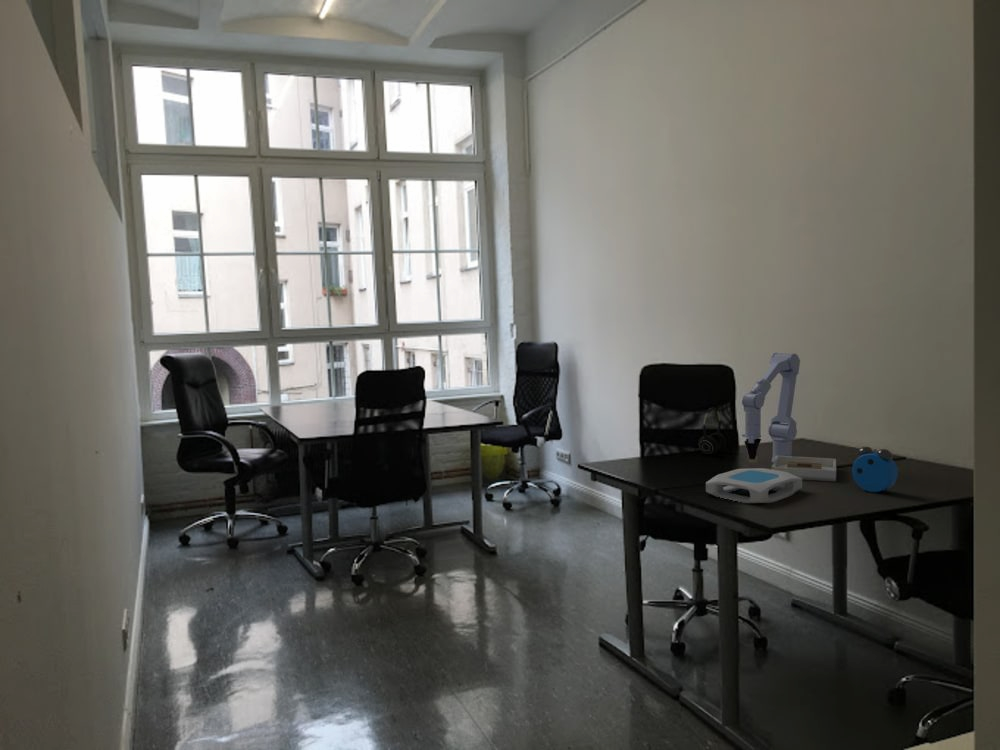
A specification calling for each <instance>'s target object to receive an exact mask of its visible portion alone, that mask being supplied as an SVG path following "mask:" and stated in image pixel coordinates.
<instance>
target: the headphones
mask: <svg viewBox="0 0 1000 750" xmlns="http://www.w3.org/2000/svg"><path fill="white" fill-rule="evenodd" d="M712 411H715V412H716V413H717V416H718V424H717V425H718V426H717V431H716V432H713V433H711V434H710V435H708V433H707V428H706V427H707V426H706V420H707V416H708V414H710V413H711V412H712ZM705 413H706V414H705V416H704V419H703V426H702V427H703V428H702V431H703V436H701V437H700V438H699V440H698V447H699V449H700V451H701V452H703V453H704V454H706V455H714V454H716V453H720V452H722V451H723V450H724V449H725V447H726V445H727V440H726V438H725V436H724V435H723V434H721V428H722V427H721V425H722V419H721V415H720V411H719V410H718V408H716V407H710V408H708V410H706V412H705Z"/></svg>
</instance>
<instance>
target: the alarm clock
mask: <svg viewBox="0 0 1000 750" xmlns="http://www.w3.org/2000/svg"><path fill="white" fill-rule="evenodd" d="M872 451H873V452H872ZM857 455H858V456H859V457H857V458H856V459H855V461H854V462H853V464H852V468H851V469H852V476H853V480H854V482H855V483H856V484H857V485H858V486H859V487H860V488H861V489H862V490H864V491H866V492H870V493H879V492H882V491H886V492H889V491H888V489H889V488H892V487H893V486H894V484H895V483H896V481H897V479H898V475H899V474H898V473H899V472H898V467H897V464H896V462H895V461H894V460H893V454H892V452H891V451H890V450H889V449H887V448H886V449H885V448H880V449H879V450H878V449H876V448H875V449H874V448H873V449H872V448H871V447H869V446H861V447H860V448H859V449H858V450H857Z"/></svg>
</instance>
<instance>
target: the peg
mask: <svg viewBox="0 0 1000 750" xmlns="http://www.w3.org/2000/svg"><path fill="white" fill-rule="evenodd" d="M758 450H759V447H758V448H757V452H756V458H755V459H749V455H748V454H747V463H750V464H757V463H759V461H758V460H759V459H758V458H759V457H758V455H759V452H758Z"/></svg>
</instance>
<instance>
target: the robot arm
mask: <svg viewBox="0 0 1000 750" xmlns="http://www.w3.org/2000/svg"><path fill="white" fill-rule="evenodd" d="M800 364H801V359H800V358H799V356H798V354H797V353H786V352H785V353H783V352H781V353H780V352H773V353H772V354H771V356H770V358H769V366H768V367H767V370H766V372H765V373H764V375H763V377H762V378H760V379H758V380H757V381H756V383H754V385H753V386H752V387H751V389H750V391H749V392H747V393H745V394H744V395H743V397H742V400H741V403H742V404H741V405H742V406H743V410H744V412H745V413H744V414H745V415H744V416H745V417H744V419H745V420H744V422H745V425H744V426H745V427H744V428H745V429H744V431H745V432H744V433H743V434H741V437H744V438H745V441H743V442H744V445H745V447H746V449H747V456H748V455H749V459H755V458H756V452H757V448H758V449H759V446H760V443H761V442H762V435H761V428H762V427H761V426H762V425H761V423H762V422H761V421H762V420H761V419H762V417H761V414H762V413H761V410H762V408H763V407H764V404H765V401H766V396H767V394H768V392H769V391H770V389H771V388H772V385H771V383H772V381H774V380H775V378H776V377H777V375H778V374H779V375H780V376H781V377H782V379H781V388H780V392H779V393H780V394H779V400H778V407H777V408H778V409H777V414H776V415H775V416H773V417H772V418H771V421H770V424H769V426H768V431H767V432H768V436H770V438H771V440H772V458H771V461H770V462H771V463H773V462H774V459H775V456H792V453H793V450H792V448H793V444H792V443H793V441H794V439H795V438H796V436H797V433H798V431H797V421H796V420H795V419H794V418H793V417H792V410H793V404H794V396H795V390H796V383H797V375H799V374H800V373H799V372H800ZM792 457H793V456H792Z"/></svg>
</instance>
